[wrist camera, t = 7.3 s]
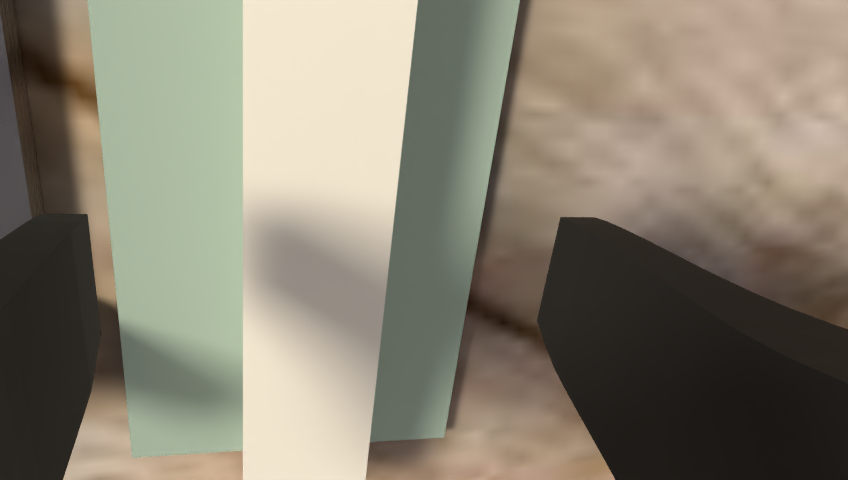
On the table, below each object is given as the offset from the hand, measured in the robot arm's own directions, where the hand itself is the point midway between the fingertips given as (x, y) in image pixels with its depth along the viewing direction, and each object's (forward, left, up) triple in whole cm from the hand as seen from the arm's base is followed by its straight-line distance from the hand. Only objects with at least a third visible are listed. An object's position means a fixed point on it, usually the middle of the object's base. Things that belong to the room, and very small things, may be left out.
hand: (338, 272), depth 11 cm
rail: (0, 0, -6) cm, 6 cm away
